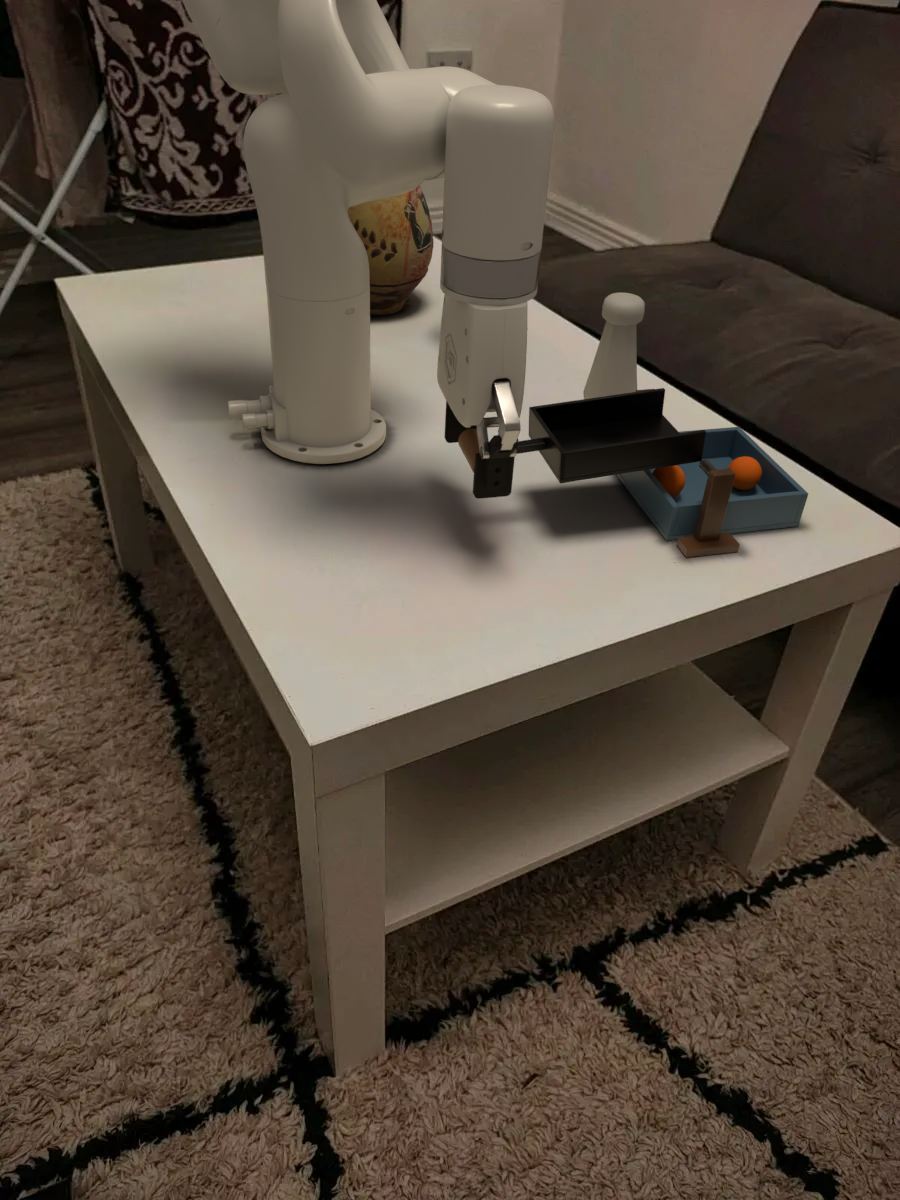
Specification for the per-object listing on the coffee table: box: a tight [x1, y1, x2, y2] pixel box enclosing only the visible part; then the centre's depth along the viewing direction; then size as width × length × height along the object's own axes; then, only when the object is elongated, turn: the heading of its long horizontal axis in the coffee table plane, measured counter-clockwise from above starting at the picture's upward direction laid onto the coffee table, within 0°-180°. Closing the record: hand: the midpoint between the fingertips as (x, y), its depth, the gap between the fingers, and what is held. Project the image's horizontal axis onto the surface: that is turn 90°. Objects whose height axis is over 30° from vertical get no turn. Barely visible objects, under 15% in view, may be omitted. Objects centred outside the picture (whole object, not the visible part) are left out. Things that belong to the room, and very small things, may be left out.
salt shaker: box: [583, 292, 646, 399], centre depth 101 cm, size 6×6×13 cm
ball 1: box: [652, 465, 685, 497], centre depth 90 cm, size 3×3×3 cm
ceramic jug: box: [348, 185, 435, 317], centre depth 120 cm, size 17×15×30 cm
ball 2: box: [728, 456, 762, 490], centre depth 91 cm, size 3×3×3 cm
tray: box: [616, 426, 809, 541], centre depth 91 cm, size 13×13×4 cm
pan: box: [457, 387, 706, 484], centre depth 84 cm, size 20×9×3 cm, turn 104°
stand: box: [635, 388, 740, 558], centre depth 89 cm, size 5×19×7 cm, turn 14°
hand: (476, 466), depth 84 cm, fingers open, 9 cm apart
